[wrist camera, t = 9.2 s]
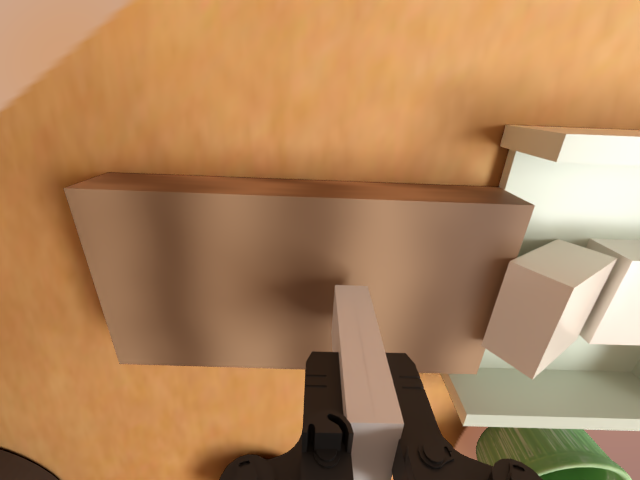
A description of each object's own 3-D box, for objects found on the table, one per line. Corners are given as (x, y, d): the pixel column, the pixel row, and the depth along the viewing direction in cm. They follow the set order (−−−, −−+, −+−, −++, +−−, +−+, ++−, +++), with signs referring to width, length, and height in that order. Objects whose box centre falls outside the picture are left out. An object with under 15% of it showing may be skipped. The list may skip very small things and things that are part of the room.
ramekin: (567, 470, 27) (611, 536, 23) (461, 475, 27) (486, 540, 23) (599, 398, 23) (658, 462, 19) (475, 404, 23) (507, 468, 19)
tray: (438, 370, 21) (462, 426, 18) (505, 124, 15) (566, 134, 11) (630, 375, 22) (693, 432, 18) (784, 135, 15) (933, 148, 11)
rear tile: (682, 346, 16) (638, 316, 19) (739, 264, 14) (682, 241, 17) (589, 343, 16) (556, 313, 19) (632, 261, 14) (589, 238, 16)
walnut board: (147, 327, 20) (119, 363, 17) (108, 172, 16) (63, 188, 13) (455, 336, 20) (476, 374, 17) (498, 186, 16) (535, 205, 13)
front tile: (481, 345, 16) (532, 379, 14) (509, 261, 14) (574, 288, 12) (528, 314, 19) (576, 339, 17) (558, 239, 17) (617, 258, 15)
